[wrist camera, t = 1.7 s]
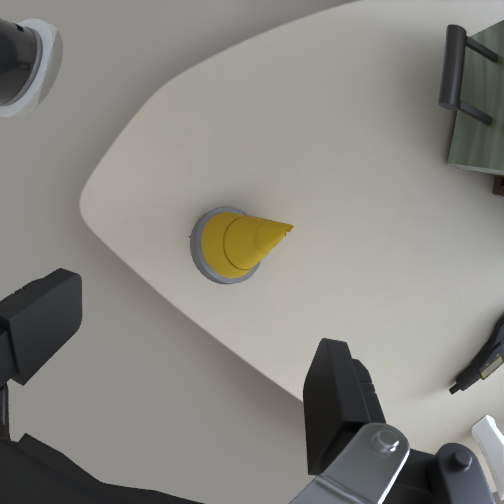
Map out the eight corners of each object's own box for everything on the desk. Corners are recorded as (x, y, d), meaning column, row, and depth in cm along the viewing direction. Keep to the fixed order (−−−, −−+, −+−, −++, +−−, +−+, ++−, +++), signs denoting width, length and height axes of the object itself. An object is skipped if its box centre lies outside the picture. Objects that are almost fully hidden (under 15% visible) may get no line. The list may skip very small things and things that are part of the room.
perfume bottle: (472, 440, 31) (509, 517, 17) (464, 430, 30) (505, 513, 16) (498, 421, 30) (540, 494, 15) (492, 408, 29) (539, 487, 15)
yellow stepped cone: (187, 207, 25) (265, 161, 17) (241, 235, 28) (331, 206, 20) (165, 271, 23) (240, 252, 15) (224, 295, 26) (316, 289, 18)
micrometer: (528, 304, 23) (535, 334, 24) (518, 297, 25) (526, 326, 26) (444, 379, 25) (456, 403, 26) (437, 369, 27) (450, 392, 28)
